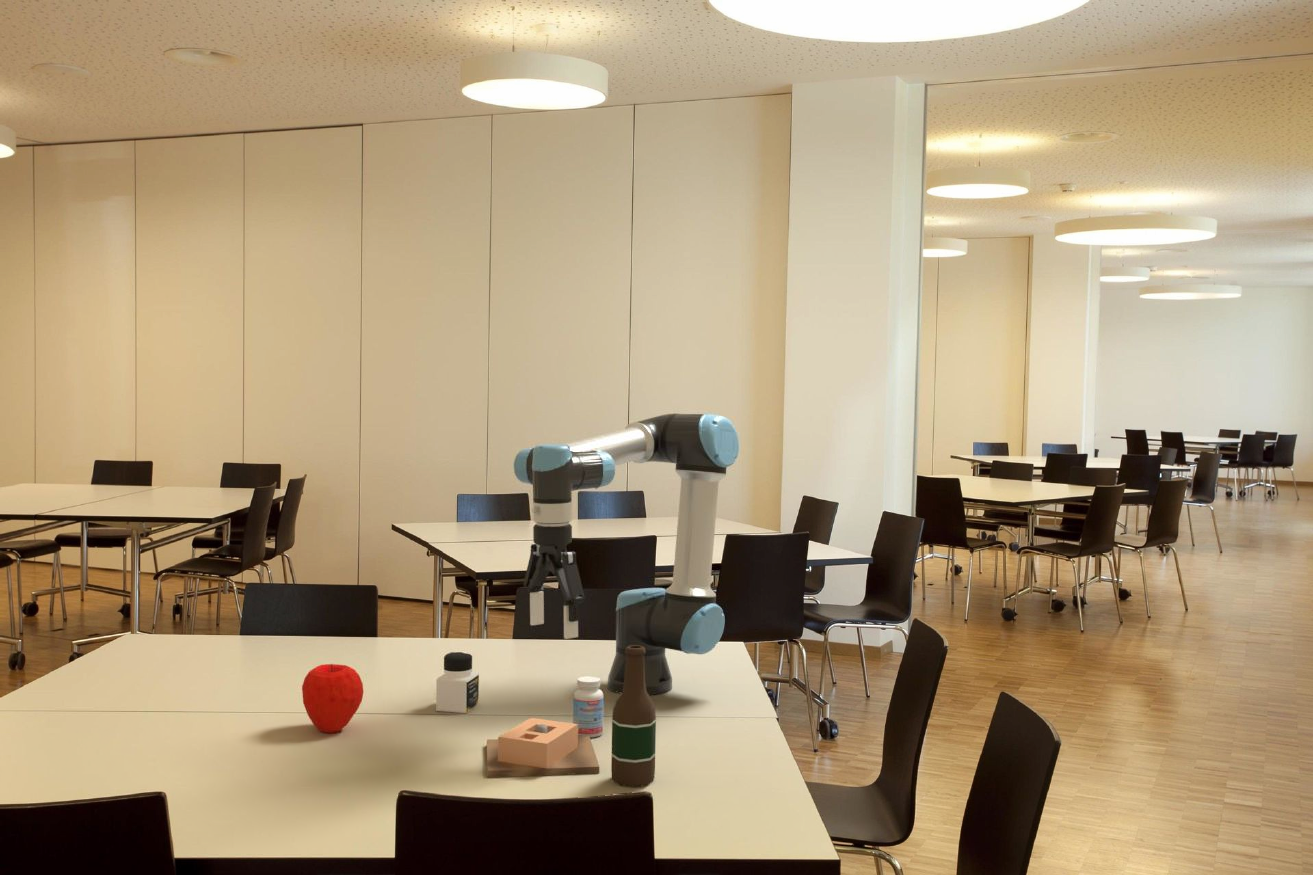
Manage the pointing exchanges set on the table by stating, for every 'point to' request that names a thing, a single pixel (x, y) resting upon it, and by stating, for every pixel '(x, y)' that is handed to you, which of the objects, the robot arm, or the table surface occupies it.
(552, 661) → the table surface
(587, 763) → the post board
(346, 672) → the apple
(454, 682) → the medicine bottle
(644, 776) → the beer bottle
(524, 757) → the salmon block with slots
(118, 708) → the table surface
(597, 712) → the pill bottle
